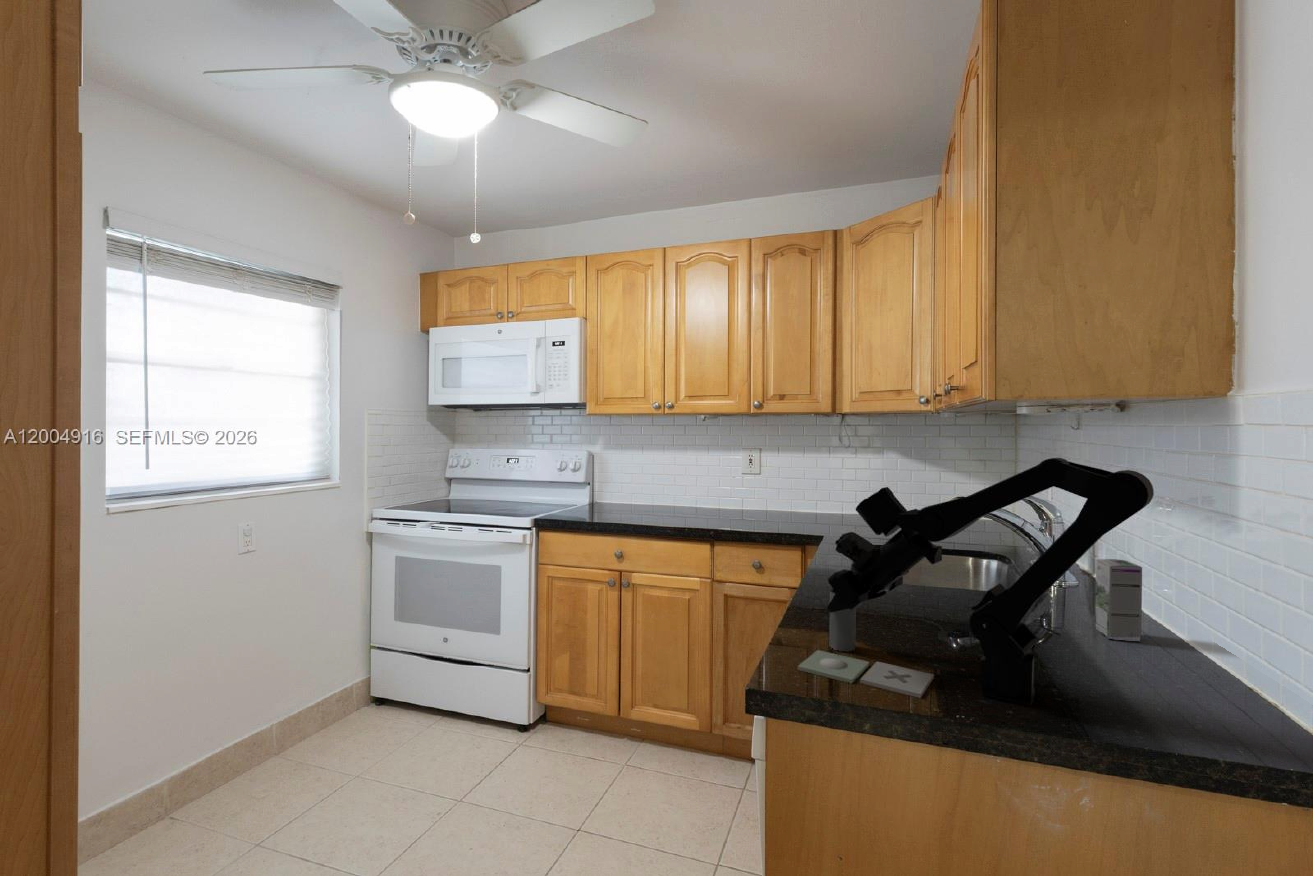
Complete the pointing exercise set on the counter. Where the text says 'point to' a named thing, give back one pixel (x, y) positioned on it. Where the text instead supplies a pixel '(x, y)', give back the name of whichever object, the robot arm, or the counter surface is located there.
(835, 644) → the grey cylinder
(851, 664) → the pad
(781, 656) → the counter surface
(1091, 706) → the counter surface
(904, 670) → the pad
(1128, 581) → the syrup box
